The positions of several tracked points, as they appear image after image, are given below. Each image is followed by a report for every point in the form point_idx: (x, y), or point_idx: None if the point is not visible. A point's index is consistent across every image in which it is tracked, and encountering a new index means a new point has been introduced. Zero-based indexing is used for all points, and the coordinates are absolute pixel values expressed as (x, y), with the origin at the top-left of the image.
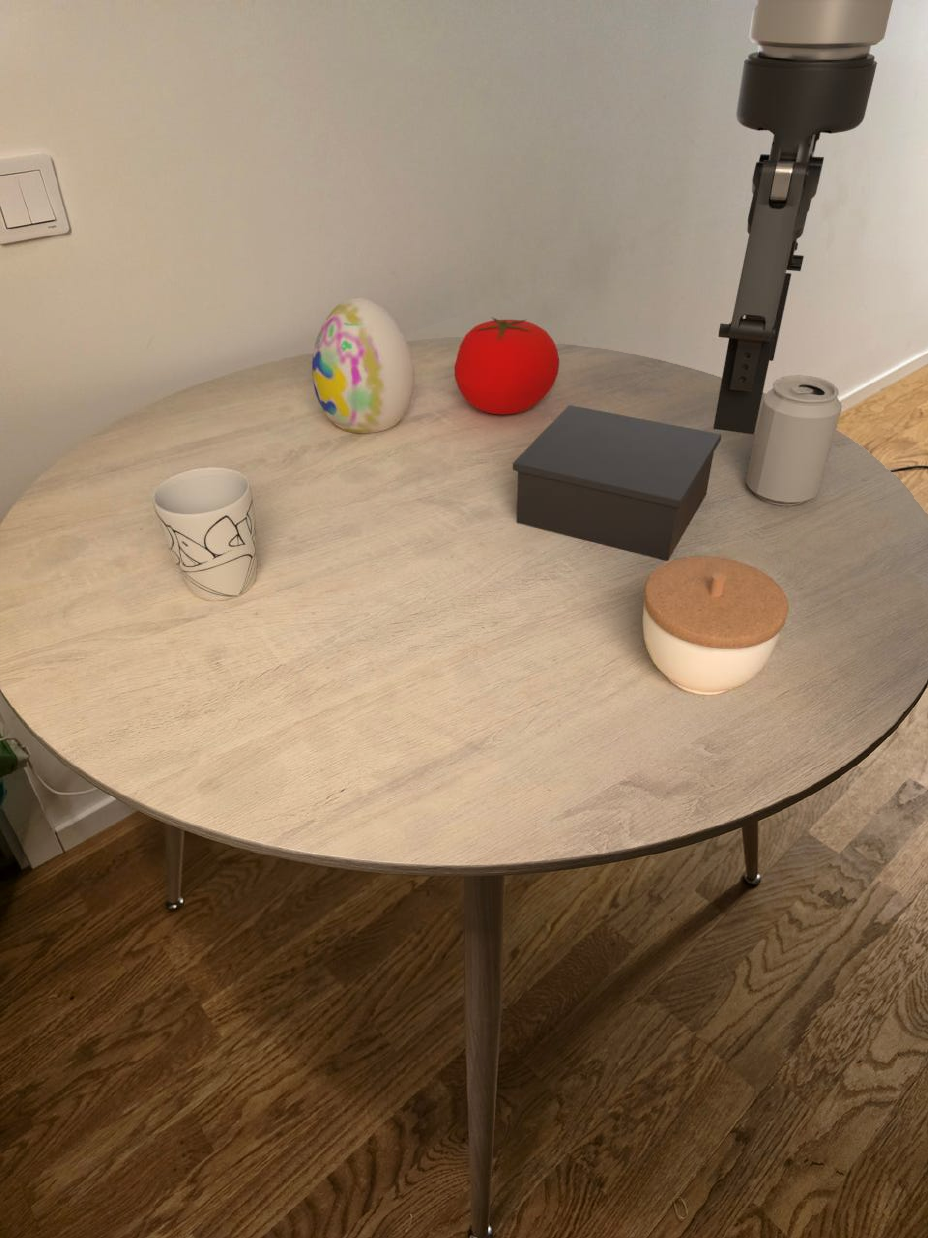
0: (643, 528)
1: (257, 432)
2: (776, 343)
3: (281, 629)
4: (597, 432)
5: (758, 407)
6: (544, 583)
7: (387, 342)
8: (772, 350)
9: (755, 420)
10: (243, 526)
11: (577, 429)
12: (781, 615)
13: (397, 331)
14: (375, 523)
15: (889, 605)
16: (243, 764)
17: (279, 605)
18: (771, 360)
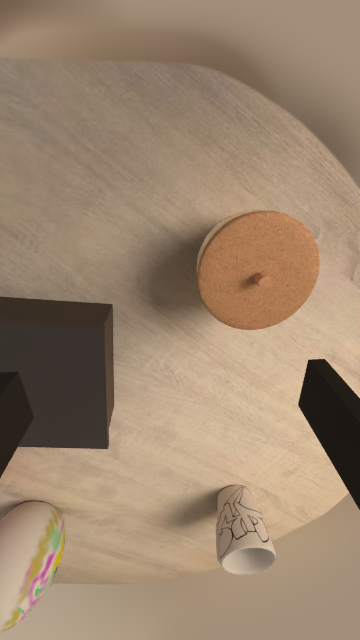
0: (108, 336)
1: (90, 544)
2: (2, 393)
3: (262, 461)
4: None
5: (350, 388)
6: (176, 370)
7: (11, 578)
8: (9, 387)
9: (336, 374)
10: (249, 527)
11: None
12: (279, 217)
13: None
14: (153, 466)
15: (87, 95)
16: None
17: (244, 470)
18: (19, 374)
